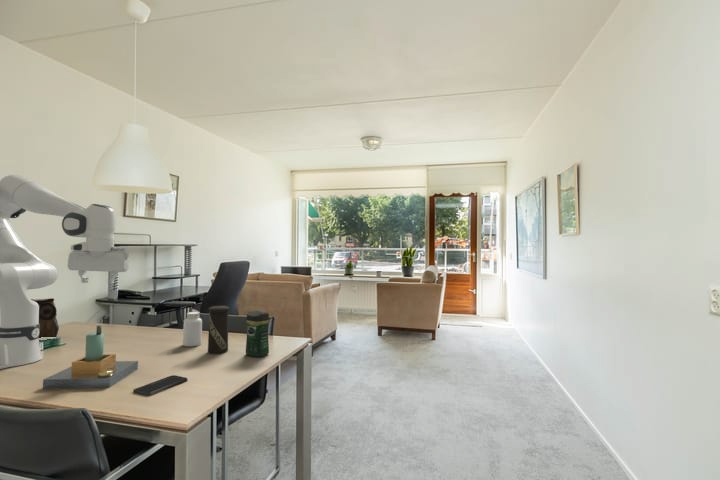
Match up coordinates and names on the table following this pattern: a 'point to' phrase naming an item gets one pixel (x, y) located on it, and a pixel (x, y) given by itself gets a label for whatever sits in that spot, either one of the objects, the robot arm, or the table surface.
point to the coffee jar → (257, 334)
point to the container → (218, 329)
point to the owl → (47, 318)
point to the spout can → (94, 345)
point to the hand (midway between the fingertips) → (97, 283)
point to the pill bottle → (192, 330)
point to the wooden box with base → (91, 373)
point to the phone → (160, 385)
